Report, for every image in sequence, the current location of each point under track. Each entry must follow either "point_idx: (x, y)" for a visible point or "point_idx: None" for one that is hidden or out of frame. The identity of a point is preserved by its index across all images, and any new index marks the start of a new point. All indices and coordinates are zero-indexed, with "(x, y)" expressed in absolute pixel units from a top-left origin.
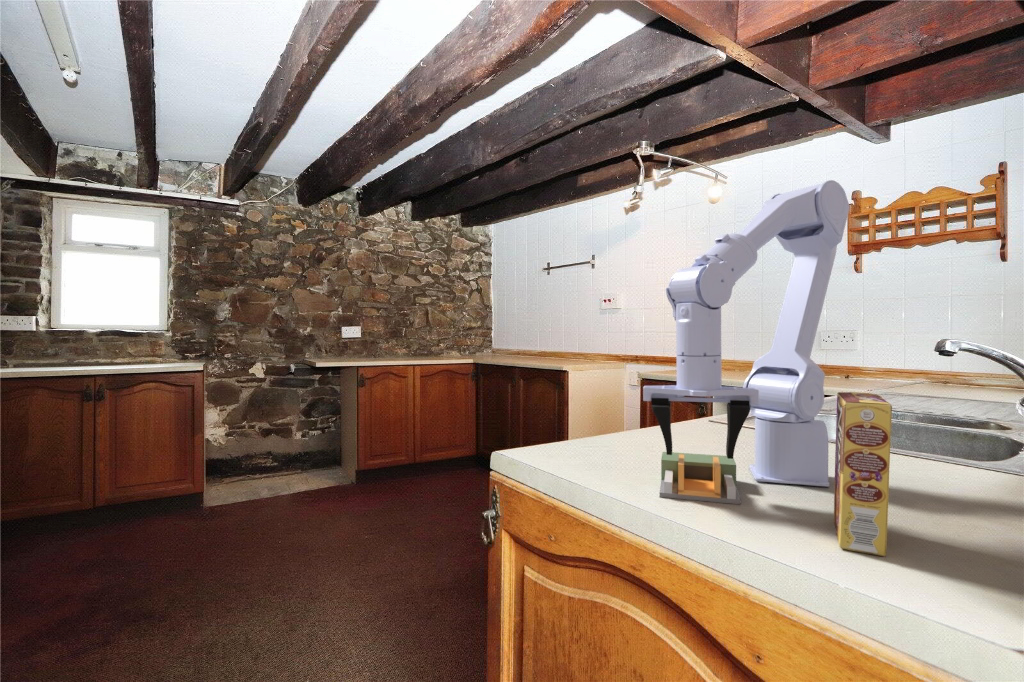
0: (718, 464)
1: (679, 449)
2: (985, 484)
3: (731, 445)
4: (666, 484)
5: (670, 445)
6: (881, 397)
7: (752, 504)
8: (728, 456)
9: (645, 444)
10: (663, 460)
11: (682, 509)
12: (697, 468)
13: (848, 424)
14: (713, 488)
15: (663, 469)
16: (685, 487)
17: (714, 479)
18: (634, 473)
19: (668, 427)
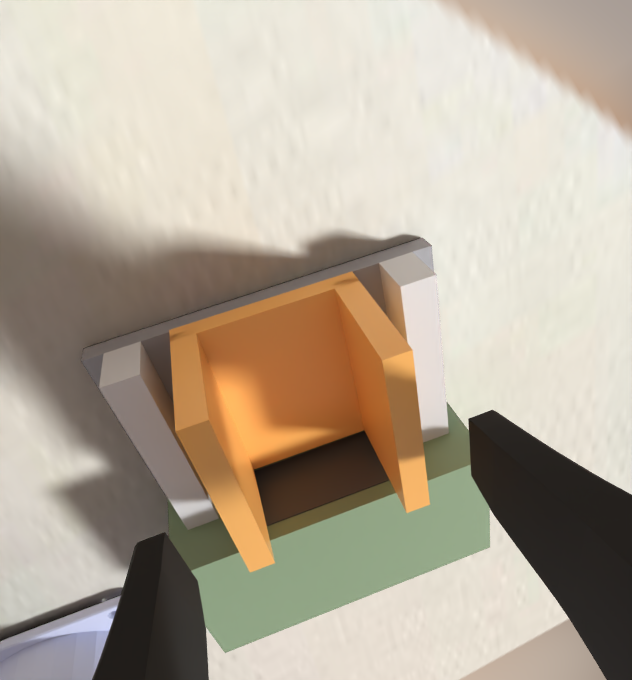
0: (206, 472)
1: (425, 666)
2: None
3: (134, 617)
4: (420, 273)
5: (511, 450)
6: None
7: (41, 379)
8: (158, 543)
9: (516, 644)
10: None
11: (296, 127)
12: (328, 491)
13: None
14: (222, 387)
15: (457, 429)
16: (336, 329)
17: (211, 391)
18: (534, 430)
19: (620, 541)
